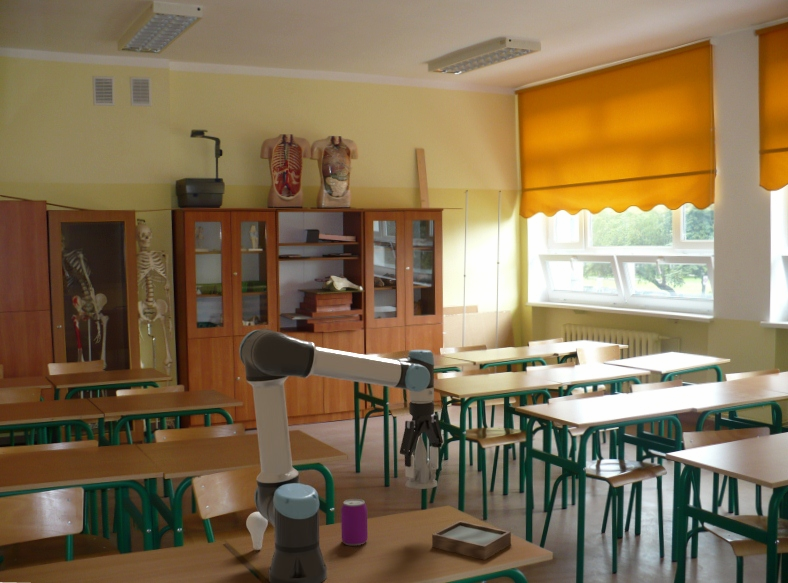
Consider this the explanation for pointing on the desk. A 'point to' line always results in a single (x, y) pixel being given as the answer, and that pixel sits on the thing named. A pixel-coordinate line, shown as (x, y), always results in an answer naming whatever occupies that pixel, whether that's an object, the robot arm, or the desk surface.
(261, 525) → the lightbulb
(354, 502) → the beverage can
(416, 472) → the crystal
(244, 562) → the desk surface
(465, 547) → the wooden tray
